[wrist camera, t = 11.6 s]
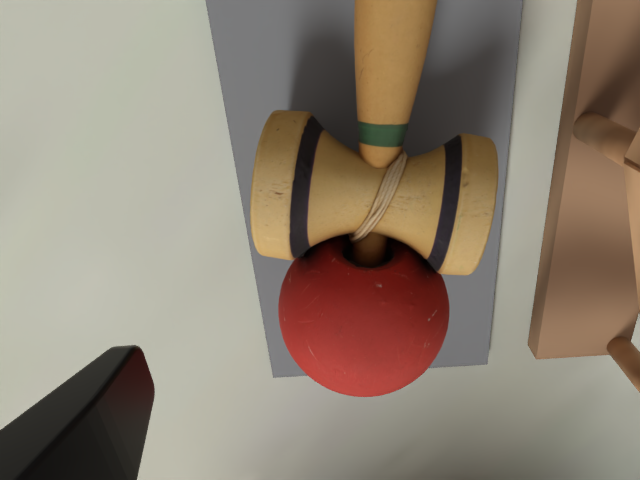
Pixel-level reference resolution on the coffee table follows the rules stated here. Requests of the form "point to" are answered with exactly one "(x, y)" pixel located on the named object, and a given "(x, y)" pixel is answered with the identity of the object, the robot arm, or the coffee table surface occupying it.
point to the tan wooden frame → (594, 197)
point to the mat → (342, 123)
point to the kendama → (371, 217)
